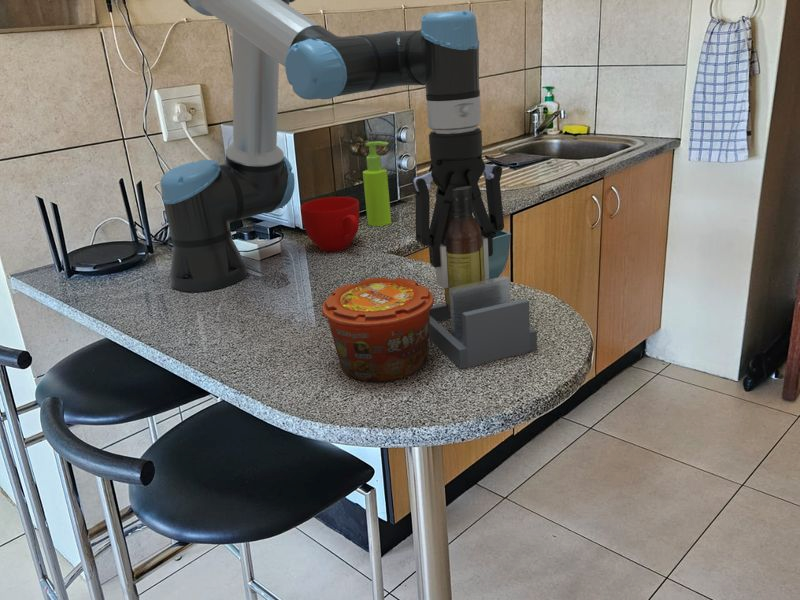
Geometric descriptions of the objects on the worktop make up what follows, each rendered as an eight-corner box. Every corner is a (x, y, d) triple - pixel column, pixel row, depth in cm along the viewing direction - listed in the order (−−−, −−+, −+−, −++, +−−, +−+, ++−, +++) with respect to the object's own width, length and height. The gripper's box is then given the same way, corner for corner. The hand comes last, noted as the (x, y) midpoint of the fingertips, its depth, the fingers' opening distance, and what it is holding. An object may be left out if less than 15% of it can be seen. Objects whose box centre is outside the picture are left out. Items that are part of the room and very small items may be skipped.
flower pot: (475, 290, 125) (473, 243, 122) (447, 278, 132) (444, 233, 129) (513, 278, 129) (512, 232, 126) (483, 267, 136) (482, 223, 133)
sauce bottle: (460, 299, 113) (455, 178, 105) (493, 306, 109) (490, 181, 101) (436, 313, 108) (429, 187, 101) (469, 321, 104) (464, 191, 97)
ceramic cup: (334, 264, 145) (328, 218, 142) (295, 248, 158) (289, 205, 155) (384, 249, 152) (380, 205, 148) (343, 234, 165) (339, 193, 161)
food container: (307, 376, 100) (297, 308, 96) (369, 332, 112) (362, 270, 108) (401, 399, 92) (395, 325, 88) (457, 349, 104) (453, 282, 100)
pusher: (452, 350, 104) (449, 288, 100) (507, 336, 107) (505, 275, 103) (456, 353, 103) (452, 290, 99) (510, 339, 105) (509, 278, 102)
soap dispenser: (390, 226, 168) (383, 143, 161) (364, 226, 171) (355, 144, 163) (398, 219, 173) (391, 139, 166) (372, 219, 176) (365, 140, 168)
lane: (413, 324, 114) (409, 278, 111) (481, 308, 117) (479, 264, 114) (460, 369, 98) (457, 317, 95) (536, 349, 102) (536, 299, 99)
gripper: (401, 141, 92) (414, 301, 101) (527, 122, 98) (530, 276, 106) (382, 134, 99) (396, 286, 107) (502, 117, 104) (506, 262, 113)
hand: (462, 280), depth 107 cm, fingers closed on sauce bottle, 6 cm apart
